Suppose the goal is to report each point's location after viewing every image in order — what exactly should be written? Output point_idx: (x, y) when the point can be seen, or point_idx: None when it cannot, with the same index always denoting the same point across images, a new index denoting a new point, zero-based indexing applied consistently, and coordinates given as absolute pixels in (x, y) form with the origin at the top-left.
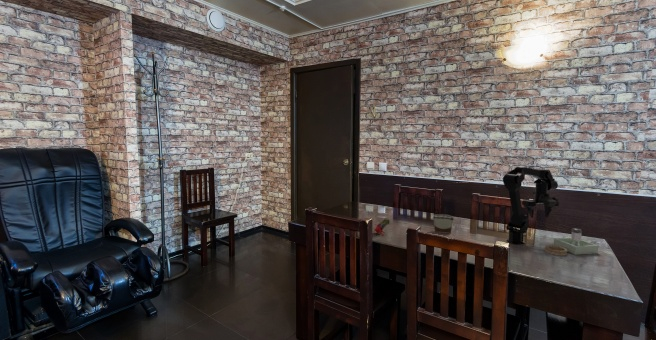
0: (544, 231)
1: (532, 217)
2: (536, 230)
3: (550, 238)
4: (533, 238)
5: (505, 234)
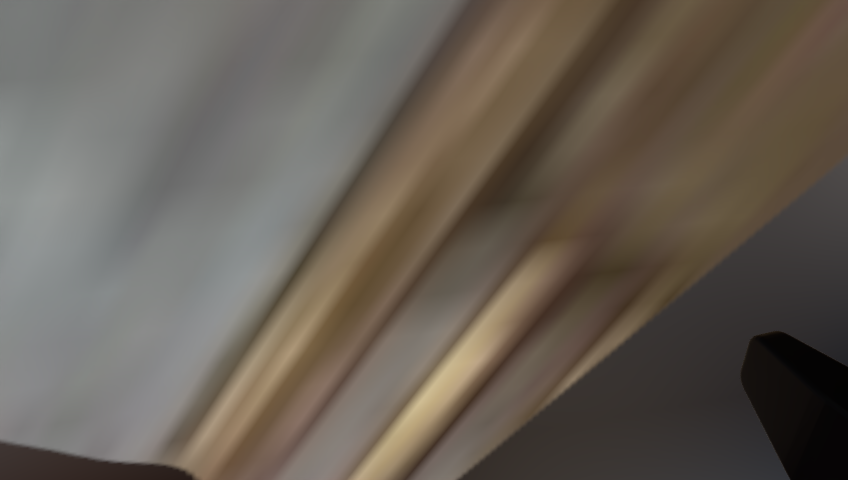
0: (37, 419)
1: (790, 340)
2: (154, 438)
3: (92, 60)
4: (461, 37)
5: (761, 207)
